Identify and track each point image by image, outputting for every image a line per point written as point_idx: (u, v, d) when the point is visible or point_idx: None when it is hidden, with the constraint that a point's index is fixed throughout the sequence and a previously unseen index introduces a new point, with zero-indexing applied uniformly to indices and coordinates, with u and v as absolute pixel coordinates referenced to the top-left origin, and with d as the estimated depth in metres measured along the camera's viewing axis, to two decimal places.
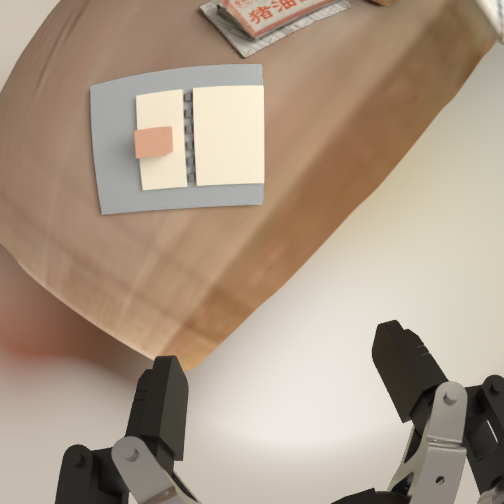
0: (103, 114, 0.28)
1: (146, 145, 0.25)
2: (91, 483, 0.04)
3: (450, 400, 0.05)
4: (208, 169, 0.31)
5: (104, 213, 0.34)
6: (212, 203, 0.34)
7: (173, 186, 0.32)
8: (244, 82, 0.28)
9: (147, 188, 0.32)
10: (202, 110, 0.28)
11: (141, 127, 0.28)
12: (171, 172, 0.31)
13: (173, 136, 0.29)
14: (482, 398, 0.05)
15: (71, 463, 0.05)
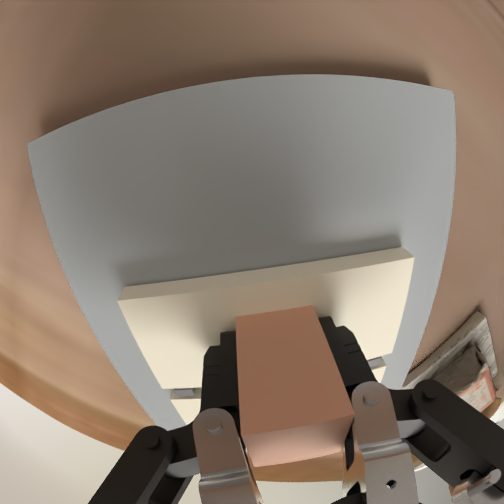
0: (376, 125, 0.09)
1: (290, 445, 0.06)
2: (158, 470, 0.05)
3: (368, 401, 0.06)
4: None
5: (30, 152, 0.08)
6: (143, 401, 0.14)
7: (153, 368, 0.12)
8: None
9: (126, 313, 0.10)
10: None
11: (321, 286, 0.10)
12: (187, 365, 0.11)
13: None
14: (415, 408, 0.06)
15: (143, 444, 0.06)
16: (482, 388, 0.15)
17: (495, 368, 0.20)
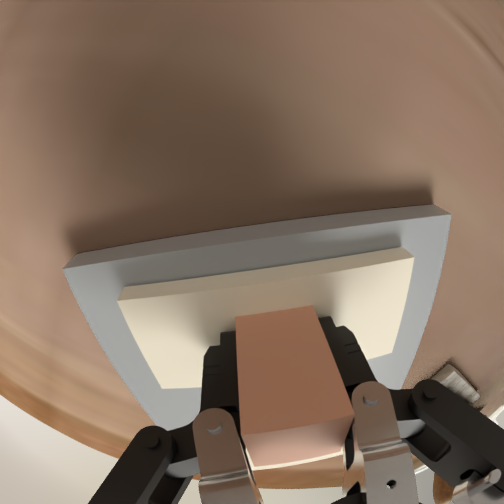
0: None
1: (290, 445, 0.06)
2: (158, 470, 0.05)
3: (368, 401, 0.06)
4: None
5: (68, 276, 0.10)
6: None
7: (153, 368, 0.12)
8: None
9: (126, 313, 0.10)
10: None
11: (321, 286, 0.10)
12: (187, 365, 0.11)
13: None
14: (415, 408, 0.06)
15: (143, 444, 0.06)
16: None
17: (476, 394, 0.23)
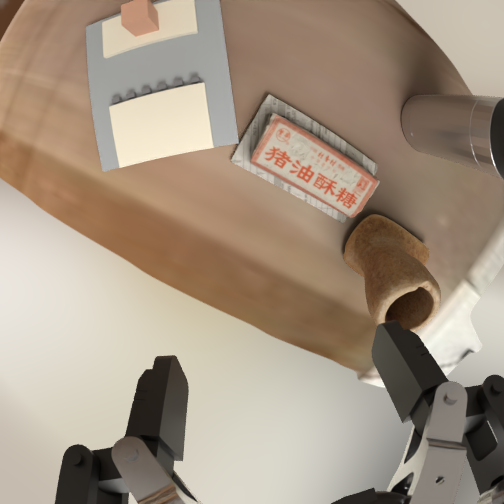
0: None
1: (131, 9, 0.18)
2: (91, 483, 0.04)
3: (450, 400, 0.05)
4: (124, 114, 0.27)
5: (87, 28, 0.21)
6: (96, 125, 0.28)
7: (103, 46, 0.23)
8: (216, 129, 0.30)
9: (103, 25, 0.21)
10: (180, 95, 0.27)
11: (160, 6, 0.21)
12: (116, 40, 0.23)
13: (149, 33, 0.23)
14: (482, 398, 0.05)
15: (71, 463, 0.05)
16: (300, 140, 0.29)
17: (364, 157, 0.33)
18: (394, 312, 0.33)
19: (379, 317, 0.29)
